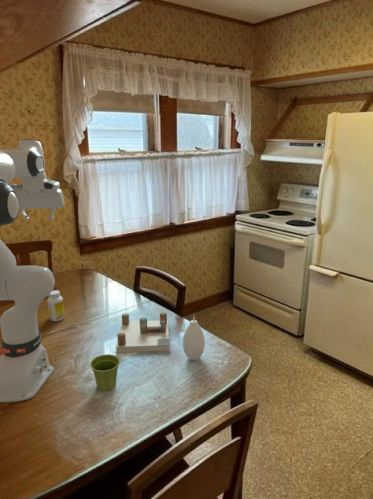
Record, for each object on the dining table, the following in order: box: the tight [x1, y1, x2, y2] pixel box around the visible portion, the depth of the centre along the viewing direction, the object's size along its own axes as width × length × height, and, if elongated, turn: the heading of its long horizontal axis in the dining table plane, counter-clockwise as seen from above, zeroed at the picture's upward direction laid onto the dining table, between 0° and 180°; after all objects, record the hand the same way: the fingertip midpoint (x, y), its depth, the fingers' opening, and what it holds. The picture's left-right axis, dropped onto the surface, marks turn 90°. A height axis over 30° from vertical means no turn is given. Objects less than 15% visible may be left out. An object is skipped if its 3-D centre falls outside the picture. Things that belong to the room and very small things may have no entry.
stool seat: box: [115, 311, 171, 354], centre depth 148 cm, size 20×20×6 cm
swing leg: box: [139, 317, 166, 334], centre depth 148 cm, size 3×10×6 cm, turn 94°
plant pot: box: [89, 354, 121, 391], centre depth 120 cm, size 9×9×9 cm
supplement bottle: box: [46, 289, 66, 322], centre depth 164 cm, size 7×7×13 cm
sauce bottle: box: [182, 315, 206, 361], centre depth 133 cm, size 8×8×18 cm
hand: (39, 219), depth 143 cm, fingers open, 8 cm apart
